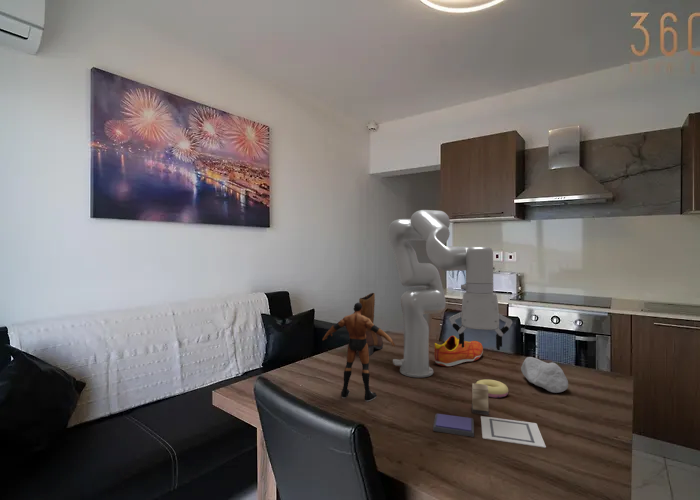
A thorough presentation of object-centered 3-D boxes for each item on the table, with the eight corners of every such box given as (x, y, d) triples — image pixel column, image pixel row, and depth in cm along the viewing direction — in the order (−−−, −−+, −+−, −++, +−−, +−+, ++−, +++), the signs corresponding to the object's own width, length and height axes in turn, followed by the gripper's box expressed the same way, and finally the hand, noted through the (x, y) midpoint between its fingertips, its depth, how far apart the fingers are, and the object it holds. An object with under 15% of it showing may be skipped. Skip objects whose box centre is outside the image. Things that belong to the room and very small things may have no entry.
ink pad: (433, 430, 91) (433, 425, 91) (435, 417, 99) (435, 412, 99) (474, 437, 88) (474, 431, 88) (473, 422, 96) (473, 417, 96)
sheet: (482, 438, 87) (482, 437, 87) (480, 416, 99) (480, 415, 99) (546, 447, 83) (546, 446, 83) (536, 423, 94) (536, 422, 94)
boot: (372, 342, 180) (371, 289, 180) (388, 344, 176) (388, 290, 176) (348, 355, 158) (347, 295, 158) (366, 358, 153) (366, 296, 154)
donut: (481, 392, 122) (472, 397, 114) (479, 378, 123) (470, 382, 115) (512, 394, 116) (504, 399, 108) (510, 379, 117) (502, 383, 109)
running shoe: (490, 357, 154) (490, 332, 154) (451, 371, 136) (451, 343, 136) (469, 352, 162) (469, 328, 162) (430, 364, 145) (429, 337, 145)
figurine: (397, 397, 112) (396, 303, 112) (392, 405, 106) (392, 306, 106) (326, 388, 120) (326, 300, 120) (319, 395, 114) (318, 302, 114)
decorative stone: (579, 385, 114) (561, 360, 114) (556, 405, 112) (538, 379, 112) (544, 371, 131) (529, 349, 131) (524, 388, 130) (508, 366, 130)
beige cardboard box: (472, 413, 101) (471, 388, 101) (471, 406, 105) (471, 383, 105) (488, 415, 100) (488, 390, 100) (488, 408, 104) (487, 384, 104)
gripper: (448, 289, 102) (448, 348, 102) (513, 291, 96) (514, 353, 96) (449, 287, 109) (449, 342, 109) (510, 288, 104) (510, 346, 103)
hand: (480, 347), depth 103 cm, fingers open, 9 cm apart
